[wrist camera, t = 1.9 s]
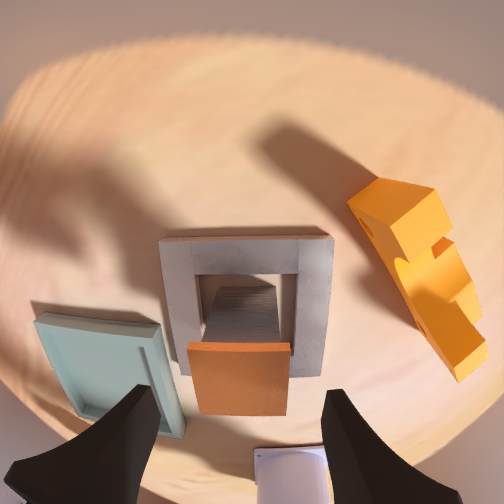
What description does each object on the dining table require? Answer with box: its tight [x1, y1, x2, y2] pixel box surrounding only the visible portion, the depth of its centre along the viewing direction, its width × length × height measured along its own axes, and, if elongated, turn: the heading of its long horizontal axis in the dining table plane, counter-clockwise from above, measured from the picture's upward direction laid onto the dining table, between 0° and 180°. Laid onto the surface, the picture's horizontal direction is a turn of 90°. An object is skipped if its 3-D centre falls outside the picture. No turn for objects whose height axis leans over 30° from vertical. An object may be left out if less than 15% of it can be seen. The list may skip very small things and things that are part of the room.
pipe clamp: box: [346, 177, 489, 383], centre depth 14 cm, size 12×4×6 cm, turn 39°
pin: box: [187, 286, 291, 416], centre depth 15 cm, size 4×4×7 cm
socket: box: [158, 235, 334, 378], centre depth 18 cm, size 10×10×1 cm
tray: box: [33, 312, 186, 439], centre depth 20 cm, size 12×12×2 cm
